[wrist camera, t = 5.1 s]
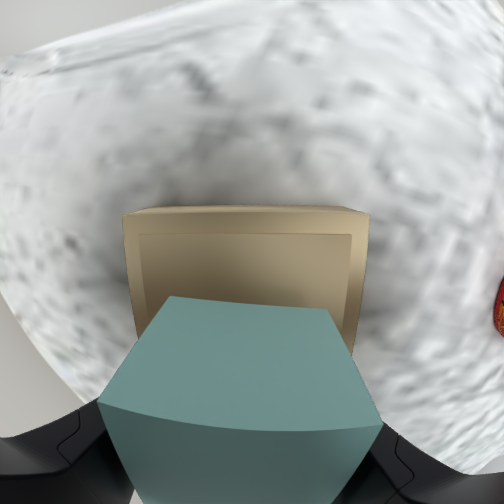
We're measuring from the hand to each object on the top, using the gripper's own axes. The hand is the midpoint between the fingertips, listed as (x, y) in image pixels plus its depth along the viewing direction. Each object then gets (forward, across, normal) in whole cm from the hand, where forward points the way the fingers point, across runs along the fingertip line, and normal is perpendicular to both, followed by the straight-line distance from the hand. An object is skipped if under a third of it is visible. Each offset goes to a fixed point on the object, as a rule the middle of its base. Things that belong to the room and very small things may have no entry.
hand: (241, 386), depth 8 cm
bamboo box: (+8, 0, 0) cm, 8 cm away
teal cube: (+1, 0, 0) cm, 1 cm away
